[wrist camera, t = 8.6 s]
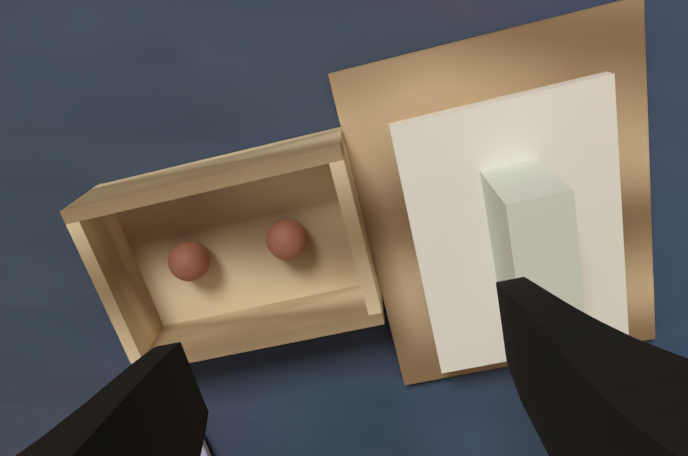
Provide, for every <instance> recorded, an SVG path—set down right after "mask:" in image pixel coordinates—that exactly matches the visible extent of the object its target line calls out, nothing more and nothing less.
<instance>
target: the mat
mask: <svg viewBox="0 0 688 456" xmlns="http://www.w3.org/2000/svg"><path fill="white" fill-rule="evenodd" d="M606 71H607V72H611V73H615V91H616V109H617V127H618V146H619V164H620V182H621V200H622V219H623V237H624V255H625V273H626V291H627V310H628V328H629V335H630V336H632V337H634V338H636V339H639V340H641V341H645V340H650V339H655V315H654V285H653V255H652V225H651V196H650V166H649V136H648V106H647V77H646V47H645V17H644V0H620V1H616V2H612V3H608V4H604V5H600V6H596V7H592V8H588V9H584V10H580V11H576V12H572V13H568V14H564V15H560V16H556V17H552V18H548V19H544V20H540V21H536V22H532V23H528V24H524V25H520V26H516V27H512V28H508V29H504V30H500V31H496V32H492V33H488V34H484V35H480V36H476V37H472V38H468V39H464V40H460V41H456V42H452V43H448V44H444V45H440V46H436V47H432V48H428V49H424V50H420V51H416V52H412V53H408V54H404V55H400V56H396V57H392V58H388V59H384V60H380V61H376V62H372V63H368V64H365V65H361V66H357V67H353V68H349V69H345V70H341V71H337V72H333V73H329V74H328V76H329V80H330V84H331V88H332V92H333V96H334V100H335V104H336V109H337V113H338V117H339V121H340V125H341V129H342V133H343V137H344V141H345V145H346V149H347V153H348V157H349V161H350V165H351V169H352V174H353V178H354V182H355V186H356V190H357V194H358V198H359V202H360V206H361V210H362V214H363V218H364V222H365V226H366V230H367V235H368V239H369V243H370V247H371V251H372V255H373V259H374V263H375V267H376V271H377V275H378V279H379V283H380V287H381V291H382V295H383V300H384V304H385V308H386V312H387V316H388V320H389V324H390V328H391V332H392V336H393V340H394V344H395V348H396V352H397V356H398V360H399V365H400V369H401V373H402V377H403V381H404V385H409V384H415V383H420V382H425V381H431V380H436V379H442V378H447V377H452V376H458V375H463V374H468V373H474V372H479V371H484V370H490V369H495V368H500V367H506V366H508V363H507V361H506V362H501V363H495V364H490V365H485V366H479V367H474V368H469V369H464V370H458V371H453V372H448V373H442V372H441V368H440V364H439V359H438V355H437V350H436V345H435V341H434V336H433V331H432V327H431V322H430V317H429V312H428V308H427V303H426V298H425V294H424V289H423V284H422V280H421V275H420V270H419V265H418V261H417V256H416V251H415V247H414V242H413V237H412V233H411V228H410V223H409V219H408V214H407V209H406V204H405V200H404V195H403V190H402V186H401V181H400V176H399V172H398V167H397V162H396V157H395V153H394V148H393V143H392V139H391V134H390V129H389V125H388V123H392V122H396V121H400V120H405V119H409V118H413V117H417V116H421V115H426V114H430V113H434V112H438V111H442V110H447V109H451V108H455V107H459V106H463V105H468V104H472V103H476V102H480V101H485V100H489V99H493V98H497V97H501V96H506V95H510V94H514V93H518V92H522V91H527V90H531V89H535V88H539V87H543V86H548V85H552V84H556V83H560V82H564V81H569V80H573V79H577V78H581V77H585V76H590V75H594V74H598V73H602V72H606Z"/></svg>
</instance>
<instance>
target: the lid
mask: <svg viewBox="0 0 688 456" xmlns="http://www.w3.org/2000/svg"><path fill="white" fill-rule="evenodd" d="M388 125H389V129H390V134H391V139H392V143H393V148H394V153H395V157H396V162H397V167H398V172H399V176H400V181H401V186H402V190H403V195H404V200H405V204H406V209H407V214H408V219H409V223H410V228H411V233H412V237H413V242H414V247H415V251H416V256H417V261H418V265H419V270H420V275H421V280H422V284H423V289H424V294H425V298H426V303H427V308H428V312H429V317H430V322H431V327H432V331H433V336H434V341H435V345H436V350H437V355H438V359H439V364H440V368H441V372H442V373H448V372H453V371H458V370H464V369H469V368H474V367H479V366H485V365H490V364H495V363H501V362H506V361H507V360H506V354H505V346H504V339H503V332H502V324H501V317H500V310H499V302H498V295H497V288H496V282H499V281H504V280H510V279H515V278H520V277H526V278H527V279H529V280H531V281H532V282H534V283H536V284H537V285H539V286H540V287H542V288H544V289H545V290H547V291H548V292H550V293H552V294H553V295H555V296H557V297H558V298H560V299H561V300H563V301H565V302H567V303H568V304H570V305H572V306H573V307H575V308H577V309H579V310H580V311H582V312H584V313H586V314H588V315H589V316H591V317H593V318H595V319H597V320H599V321H601V322H603V323H605V324H607V325H609V326H611V327H613V328H615V329H617V330H619V331H621V332H623V333H625V334H627V335H629V328H628V310H627V291H626V273H625V255H624V237H623V219H622V200H621V182H620V164H619V146H618V127H617V109H616V91H615V73H611V72H607V71H606V72H602V73H598V74H594V75H590V76H585V77H581V78H577V79H573V80H569V81H564V82H560V83H556V84H552V85H548V86H543V87H539V88H535V89H531V90H527V91H522V92H518V93H514V94H510V95H506V96H501V97H497V98H493V99H489V100H485V101H480V102H476V103H472V104H468V105H463V106H459V107H455V108H451V109H447V110H442V111H438V112H434V113H430V114H426V115H421V116H417V117H413V118H409V119H405V120H400V121H396V122H392V123H388Z"/></svg>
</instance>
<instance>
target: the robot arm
mask: <svg viewBox="0 0 688 456" xmlns="http://www.w3.org/2000/svg"><path fill="white" fill-rule="evenodd" d="M496 288H497V295H498V302H499V310H500V317H501V324H502V332H503V339H504V346H505V354H506V360H507V363H508V366H509V369H510V372H511V375H512V377H513V380H514V383H515V386H516V388H517V391H518V394H519V397H520V399H521V401H522V403H523V405H524V407H525V409H526V411H527V413H528V415H529V417H530V419H531V421H532V423H533V425H534V427H535V429H536V431H537V433H538V435H539V437H540V439H541V441H542V443H543V445H544V447H545V449H546V451H547V453H548V455H549V456H688V358H685V357H682V356H679V355H677V354H674V353H671V352H669V351H666V350H664V349H661V348H659V347H656V346H653V345H651V344H648V343H646V342H643V341H641V340H639V339H636V338H634V337H632V336H630V335H627V334H625V333H623V332H621V331H619V330H617V329H615V328H613V327H611V326H609V325H607V324H605V323H603V322H601V321H599V320H597V319H595V318H593V317H591V316H589V315H588V314H586V313H584V312H582V311H580V310H579V309H577V308H575V307H573V306H572V305H570V304H568V303H567V302H565V301H563V300H561V299H560V298H558V297H557V296H555V295H553V294H552V293H550V292H548V291H547V290H545V289H544V288H542V287H540V286H539V285H537V284H536V283H534V282H532V281H531V280H529V279H527V278H526V277H520V278H515V279H510V280H504V281H499V282H496ZM207 418H208V410H207V407H206V405H205V402H204V400H203V397H202V395H201V392H200V390H199V387H198V385H197V382H196V380H195V377H194V374H193V372H192V369H191V367H190V364H189V362H188V359H187V357H186V354H185V352H184V349H183V347H182V344H181V342H177V343H172V344H167V345H162V346H156V347H154V348H153V349H151V350H150V351H148V352H147V353H145V354H144V355H143V356H141V357H140V358H139V359H138V360H136V361H135V362H134V363H133V364H131V365H130V366H129V367H128V368H127V369H125V370H124V371H123V372H122V373H121V374H119V375H118V376H117V377H116V378H115V379H113V380H112V381H111V382H110V383H109V384H107V385H106V386H105V387H104V388H103V389H101V390H100V391H99V392H98V393H97V394H95V395H94V396H93V397H92V398H91V399H90V400H88V401H87V402H86V403H85V404H83V405H82V406H81V407H80V408H78V409H77V410H76V411H75V412H73V413H72V414H71V415H69V416H68V417H67V418H66V419H64V420H63V421H62V422H61V423H59V424H58V425H57V426H55V427H54V428H53V429H52V430H50V431H49V432H48V433H47V434H45V435H44V436H43V437H41V438H40V439H38V440H37V441H36V442H34V443H33V444H32V445H30V446H29V447H27V448H26V449H25V450H23V451H22V452H20V453H19V454H17V455H16V456H211V454H210V451H209V449H208V447H207V445H206V442H205V440H204V437H205V431H206V424H207Z"/></svg>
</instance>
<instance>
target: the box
mask: <svg viewBox="0 0 688 456" xmlns="http://www.w3.org/2000/svg"><path fill="white" fill-rule="evenodd" d="M60 213H61V215H62V217H63V220H64V222H65V224H66V226H67V228H68V230H69V232H70V234H71V237H72V239H73V241H74V243H75V245H76V247H77V249H78V252H79V254H80V256H81V258H82V260H83V262H84V264H85V267H86V269H87V271H88V273H89V275H90V277H91V279H92V281H93V284H94V286H95V288H96V290H97V292H98V294H99V296H100V299H101V301H102V303H103V305H104V307H105V309H106V311H107V314H108V316H109V318H110V320H111V322H112V324H113V326H114V328H115V331H116V333H117V335H118V337H119V339H120V341H121V343H122V346H123V348H124V350H125V352H126V354H127V356H128V358H129V361H130V363H131V364H133V363H134V362H135V361H136V360H138V359H139V358H140V357H141V356H143V355H144V354H145V353H147V352H148V351H150V350H151V349H153V348H154V347H156V346H162V345H167V344H172V343H177V342H181V344H182V347H183V349H184V352H185V354H186V357H187V359H188V362H189V363H192V362H197V361H202V360H207V359H212V358H217V357H222V356H227V355H232V354H237V353H242V352H247V351H252V350H257V349H262V348H267V347H272V346H277V345H282V344H287V343H292V342H297V341H302V340H307V339H312V338H317V337H322V336H328V335H333V334H338V333H343V332H348V331H353V330H358V329H363V328H368V327H373V326H378V325H383V324H385V323H384V313H383V303H382V293H381V287H380V283H379V279H378V275H377V271H376V267H375V263H374V259H373V255H372V251H371V247H370V243H369V239H368V235H367V230H366V226H365V222H364V218H363V214H362V210H361V206H360V202H359V198H358V194H357V190H356V186H355V182H354V178H353V174H352V169H351V165H350V161H349V157H348V153H347V149H346V145H345V141H344V137H343V133H342V129H341V127H338V128H333V129H329V130H325V131H321V132H317V133H312V134H308V135H304V136H300V137H296V138H292V139H287V140H283V141H279V142H275V143H271V144H267V145H262V146H258V147H254V148H250V149H246V150H241V151H237V152H233V153H229V154H225V155H221V156H216V157H212V158H208V159H204V160H200V161H195V162H191V163H187V164H183V165H179V166H175V167H170V168H166V169H162V170H158V171H154V172H149V173H145V174H141V175H137V176H133V177H129V178H124V179H120V180H116V181H112V182H108V183H104V184H99V185H97V186H95V187H94V188H92V189H91V190H89V191H88V192H87V193H85V194H84V195H82V196H81V197H80V198H78V199H77V200H75V201H74V202H73V203H71V204H70V205H68V206H67V207H65V208H64V209H63V210H61V211H60Z"/></svg>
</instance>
